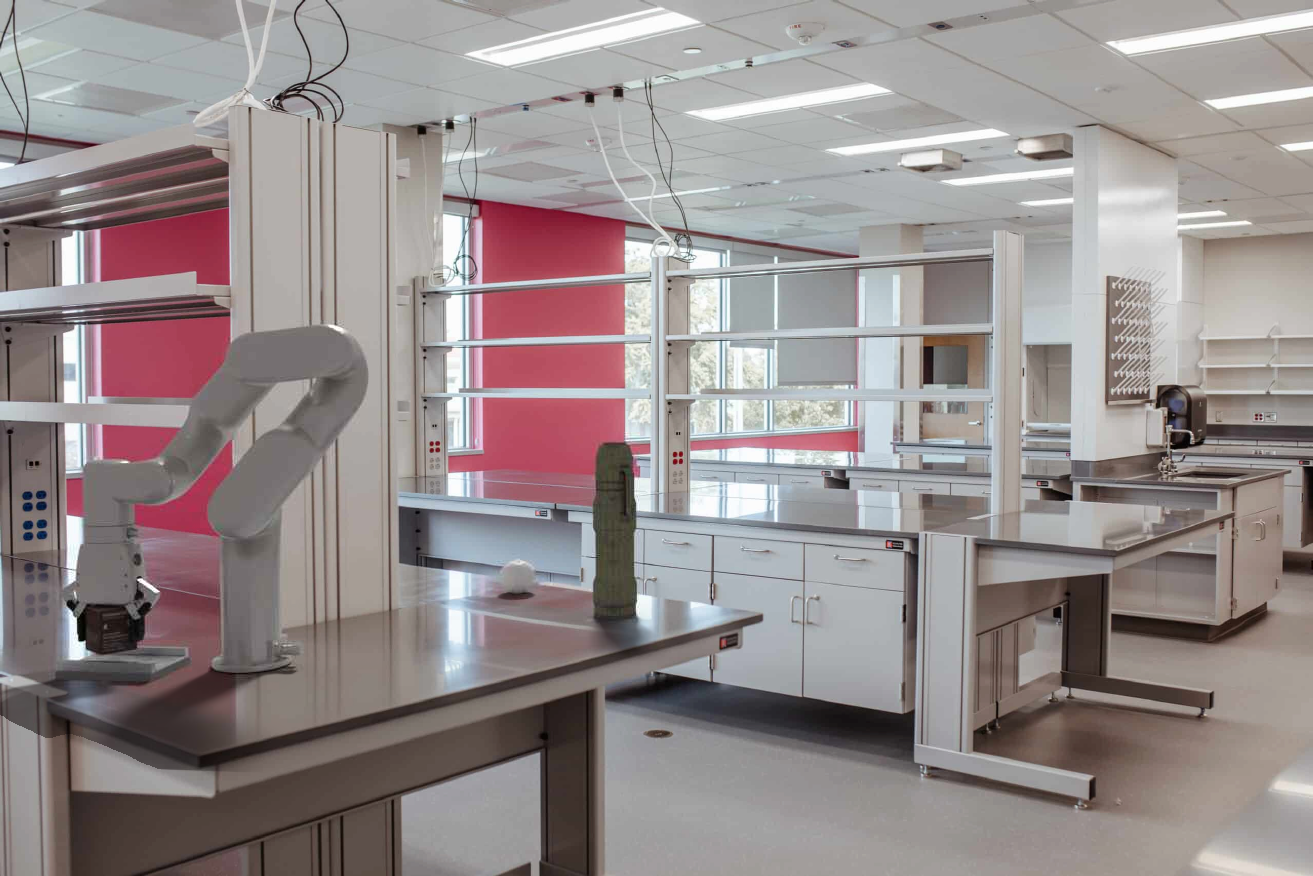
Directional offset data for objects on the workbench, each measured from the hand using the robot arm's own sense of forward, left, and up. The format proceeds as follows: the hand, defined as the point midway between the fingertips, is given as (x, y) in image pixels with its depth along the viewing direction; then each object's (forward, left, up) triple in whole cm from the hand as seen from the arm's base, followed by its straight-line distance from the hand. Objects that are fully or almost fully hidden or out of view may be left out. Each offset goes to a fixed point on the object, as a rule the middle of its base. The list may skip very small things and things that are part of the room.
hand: (111, 640), depth 181 cm
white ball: (-51, -72, -5) cm, 89 cm away
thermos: (-76, -51, -5) cm, 92 cm away
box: (0, 0, -2) cm, 2 cm away
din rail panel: (-2, 0, -5) cm, 5 cm away
